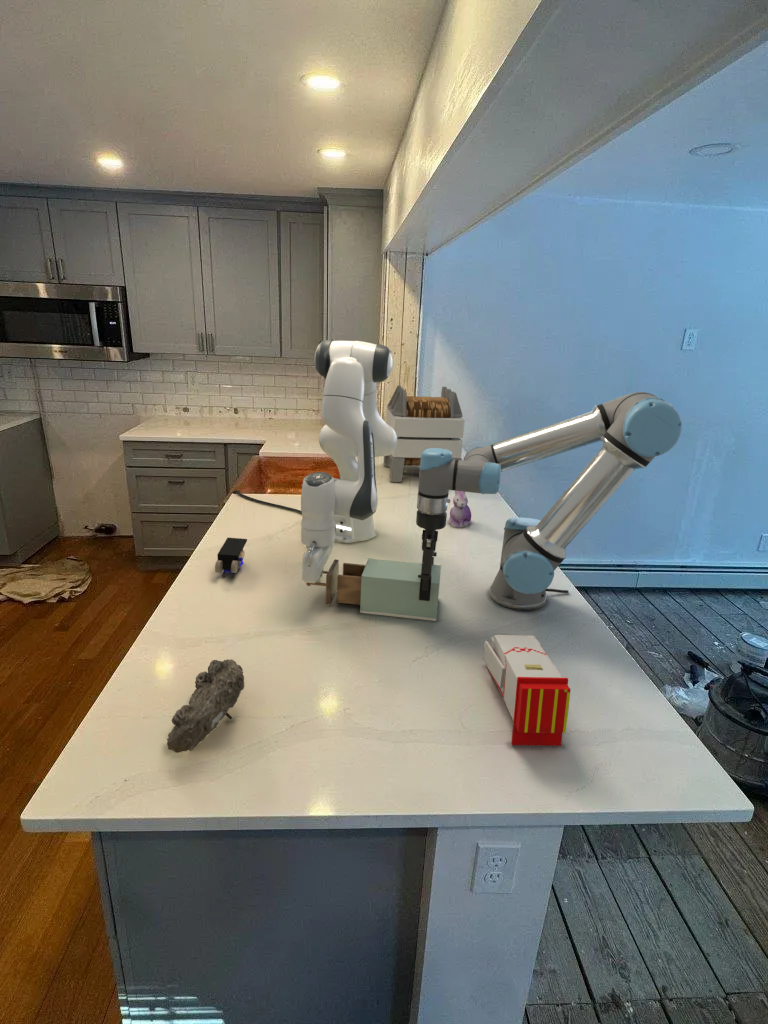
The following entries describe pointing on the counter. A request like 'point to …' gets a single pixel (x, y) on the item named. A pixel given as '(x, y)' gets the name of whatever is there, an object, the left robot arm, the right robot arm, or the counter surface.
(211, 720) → the fossil
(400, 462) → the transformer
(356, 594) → the drawer
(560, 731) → the toy
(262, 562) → the counter surface
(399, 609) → the cabinet
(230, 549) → the figurine character
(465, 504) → the figurine
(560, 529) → the right robot arm
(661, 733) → the counter surface
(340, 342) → the left robot arm
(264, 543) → the counter surface
